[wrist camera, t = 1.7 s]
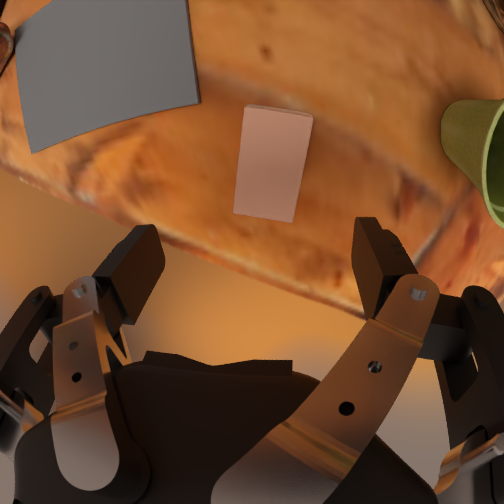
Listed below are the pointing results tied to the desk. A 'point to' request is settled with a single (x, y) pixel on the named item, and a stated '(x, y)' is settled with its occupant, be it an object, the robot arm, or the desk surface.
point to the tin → (5, 44)
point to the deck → (271, 162)
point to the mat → (102, 65)
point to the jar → (496, 11)
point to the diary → (2, 5)
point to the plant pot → (478, 148)
